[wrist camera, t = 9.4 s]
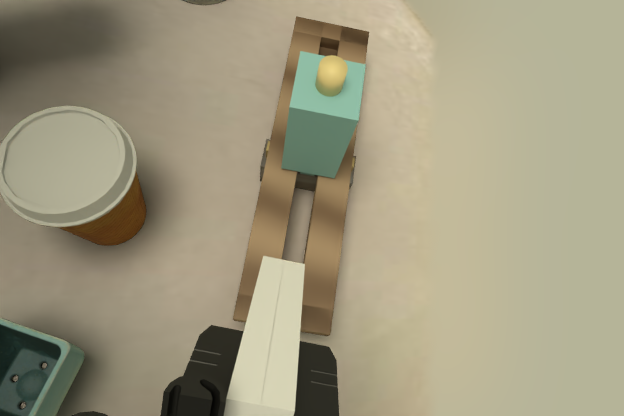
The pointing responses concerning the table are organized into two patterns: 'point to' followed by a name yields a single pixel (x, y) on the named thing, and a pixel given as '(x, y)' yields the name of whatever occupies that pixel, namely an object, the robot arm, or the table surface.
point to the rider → (322, 113)
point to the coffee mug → (204, 1)
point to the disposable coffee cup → (73, 174)
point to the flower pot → (34, 370)
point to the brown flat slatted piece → (281, 183)
